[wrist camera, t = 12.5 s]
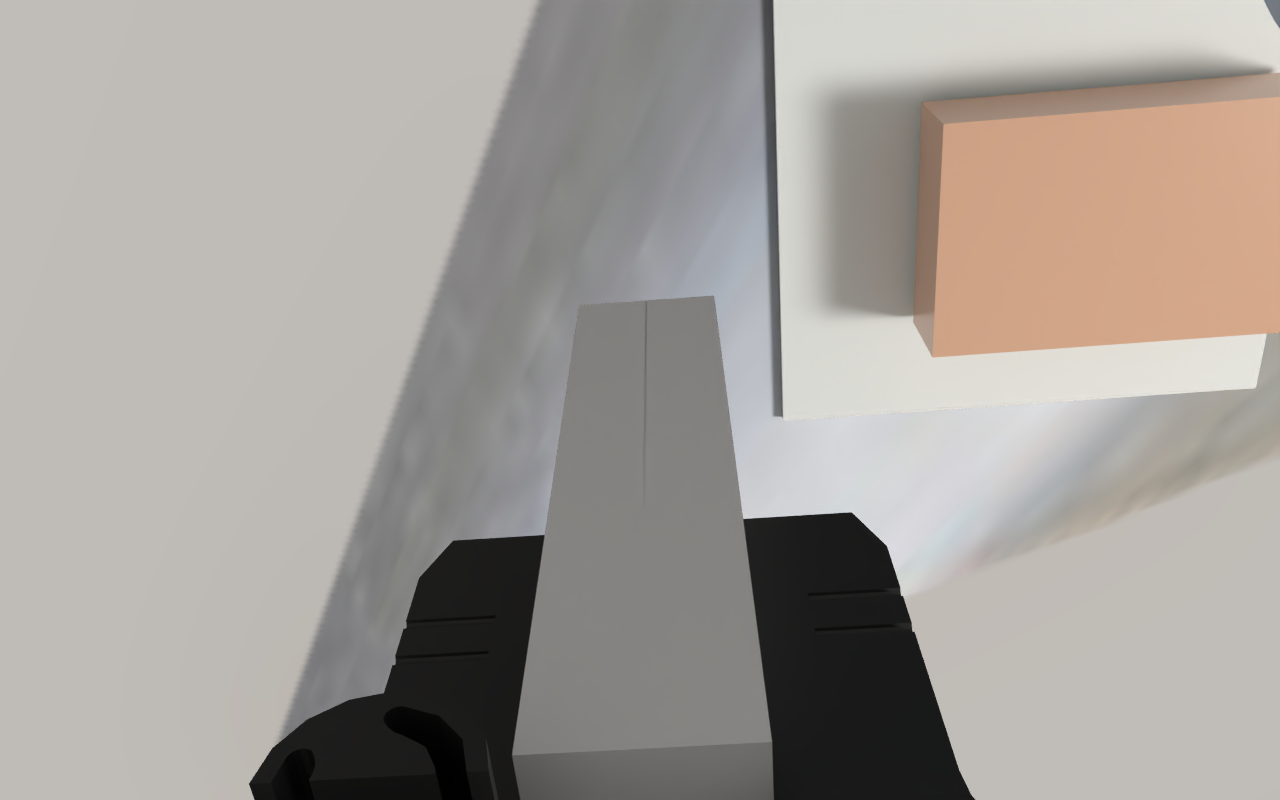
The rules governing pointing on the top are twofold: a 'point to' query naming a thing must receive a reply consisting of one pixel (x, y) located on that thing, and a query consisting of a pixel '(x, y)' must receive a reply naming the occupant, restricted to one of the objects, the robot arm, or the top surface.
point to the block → (1099, 216)
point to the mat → (889, 175)
